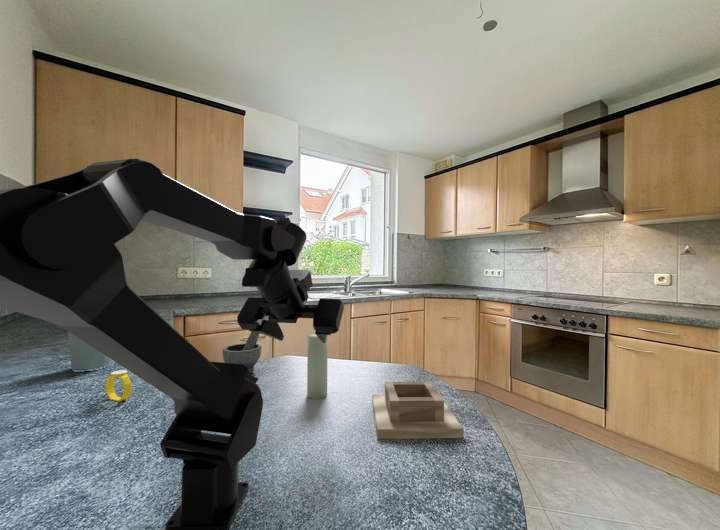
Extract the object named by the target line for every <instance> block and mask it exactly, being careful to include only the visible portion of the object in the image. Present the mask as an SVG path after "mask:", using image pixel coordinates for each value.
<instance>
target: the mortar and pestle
mask: <svg viewBox="0 0 720 530" xmlns="http://www.w3.org/2000/svg"><path fill="white" fill-rule="evenodd" d="M259 336H260V334H259V333H256V332H252V331H250V334H249V336H248V338H247V340H246V342H245V343H238V344H237V343H236V344H235V343H234V344H232V345H228V346H225V347H223V349H222V358H223V361H224V363H237V364H243V365H244V366H245V367H247V368H248V370H249V372H250V373H252V372H253V371H254V372H255V365H256V364H257V363H258V362H259V360H260V357H261V354H262V345H261V344H258V343H257V342H258V339H259ZM254 372H253V373H254Z"/></svg>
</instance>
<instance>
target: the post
mask: <svg viewBox="0 0 720 530" xmlns="http://www.w3.org/2000/svg"><path fill="white" fill-rule="evenodd" d="M328 337H329V335H327V341H326V343H323V342H322V341H321V340H320V339H319V338H318V337H317V335H316V334H315V333H312V334H308V335H307V361H306V362H307V367H306V369H307V372H306V373H307V374H306V375H307V376H306V378H307V379H306V381H307V382H306V383H307V384H306V387H307V388H306V391H307V392H306V394H307V395H306V396H307V398H309V399H312V398H314V400H316V399H315V398H320V399H322V398H321V397H324V398H326V397H327V396H328V349H329V347H328V346H329V345H328V344H329V343H328V341H329V340H328ZM326 395H327V396H326ZM325 396H326V397H325Z"/></svg>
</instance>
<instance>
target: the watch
mask: <svg viewBox="0 0 720 530" xmlns="http://www.w3.org/2000/svg"><path fill="white" fill-rule="evenodd" d="M116 378H119V379H120V380H121V383H122V385H123V393H122V396H118V394H117V393H116V392H115V388H114V384H115V383H114V382H115V379H116ZM105 391H106V396H107V397H108V399H109V400H110V401H114V402H118V403H121V402H122V401H127V399H128V398H129V397H130V396H131V392H132V381H131V378H130V377H129V375H128V370H127V369H120V370H115V371H112V372H111V373H110V375H109V376H108V378H107V380H106V382H105Z"/></svg>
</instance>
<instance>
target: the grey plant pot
mask: <svg viewBox="0 0 720 530" xmlns="http://www.w3.org/2000/svg"><path fill="white" fill-rule="evenodd" d="M67 335H68V343H69V344H68V347H69V348H68V349H69V357H70V359H69V360H70V370H71V369H72V370H88V369H95V368H100V367H104V366H106V365H109V364H110V363H112V364H113V360H112V359H110V358H108V357H107V356H105V355H104V354H102V353H101V352H99V351H98V350H96V349H94V348H93V347H91V346H90V345H88V344H87V343H85V342H84V341H82V340H81V339H79V338H77V337H76V336H74V335H73V334H71V333H70V332H68V331H67Z"/></svg>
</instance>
